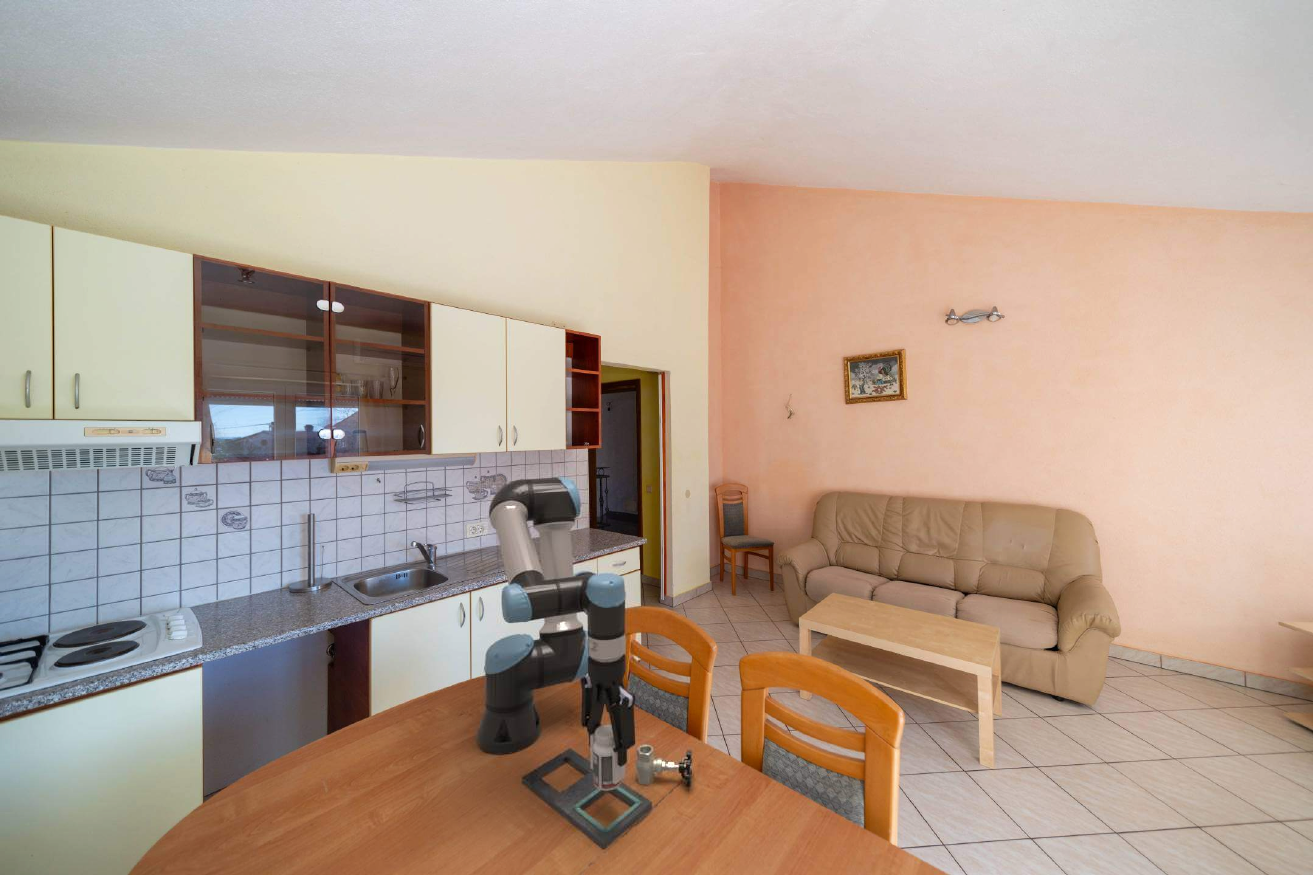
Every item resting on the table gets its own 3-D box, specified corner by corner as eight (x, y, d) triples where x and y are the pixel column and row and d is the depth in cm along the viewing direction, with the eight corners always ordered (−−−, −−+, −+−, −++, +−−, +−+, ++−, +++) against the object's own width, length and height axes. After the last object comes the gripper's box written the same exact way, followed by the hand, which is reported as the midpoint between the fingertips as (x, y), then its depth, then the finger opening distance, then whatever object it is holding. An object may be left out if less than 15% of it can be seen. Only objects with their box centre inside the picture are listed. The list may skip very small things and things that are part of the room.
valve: (633, 789, 101) (690, 795, 99) (633, 758, 101) (689, 763, 99) (638, 768, 107) (692, 773, 106) (638, 738, 107) (691, 743, 106)
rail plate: (521, 782, 103) (521, 776, 103) (569, 752, 113) (569, 746, 113) (603, 849, 86) (603, 841, 86) (652, 807, 95) (651, 800, 96)
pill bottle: (626, 775, 96) (626, 725, 96) (614, 794, 91) (614, 742, 91) (600, 769, 98) (600, 720, 98) (587, 788, 93) (587, 736, 93)
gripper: (562, 647, 98) (562, 761, 98) (626, 675, 86) (627, 806, 86) (590, 636, 104) (590, 744, 104) (654, 661, 92) (655, 783, 91)
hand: (607, 772), depth 95 cm, fingers closed on pill bottle, 6 cm apart
